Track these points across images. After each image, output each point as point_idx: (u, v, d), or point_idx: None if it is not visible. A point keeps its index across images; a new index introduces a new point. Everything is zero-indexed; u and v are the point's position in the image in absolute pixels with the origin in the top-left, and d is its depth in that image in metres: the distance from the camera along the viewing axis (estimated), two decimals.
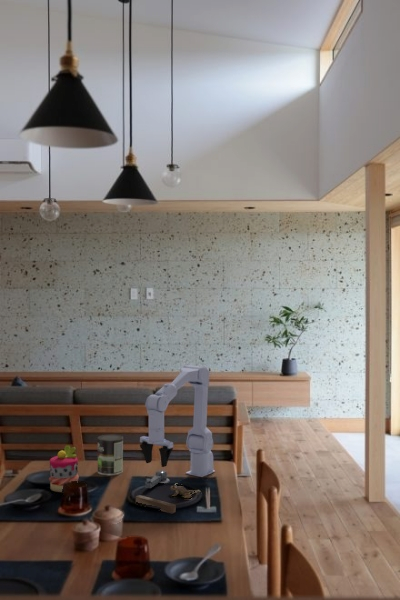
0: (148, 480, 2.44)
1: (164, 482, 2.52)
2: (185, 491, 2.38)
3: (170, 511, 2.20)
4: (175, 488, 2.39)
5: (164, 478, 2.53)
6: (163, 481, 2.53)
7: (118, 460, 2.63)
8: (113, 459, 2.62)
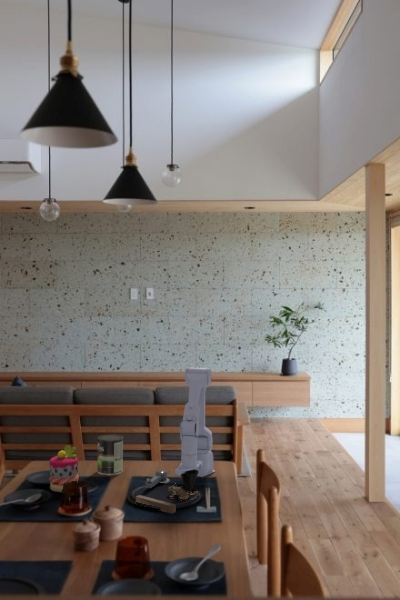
0: (148, 480, 2.44)
1: (164, 482, 2.52)
2: (183, 492, 2.37)
3: (170, 511, 2.20)
4: (173, 489, 2.37)
5: (164, 478, 2.53)
6: (163, 481, 2.53)
7: (118, 460, 2.63)
8: (113, 459, 2.62)
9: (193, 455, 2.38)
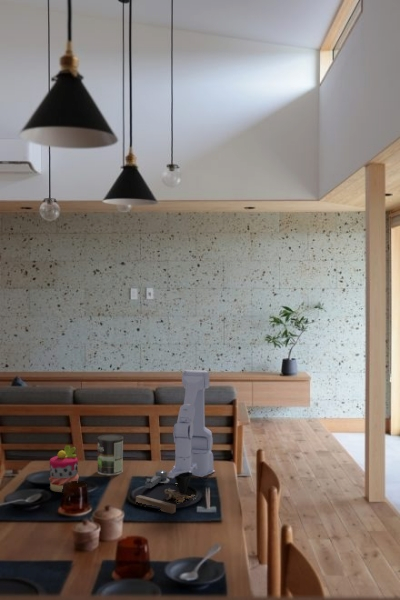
0: (148, 480, 2.44)
1: (164, 482, 2.52)
2: (178, 495, 2.33)
3: (170, 511, 2.20)
4: (169, 492, 2.34)
5: (164, 478, 2.53)
6: (163, 481, 2.53)
7: (118, 460, 2.63)
8: (113, 459, 2.62)
9: (187, 457, 2.35)
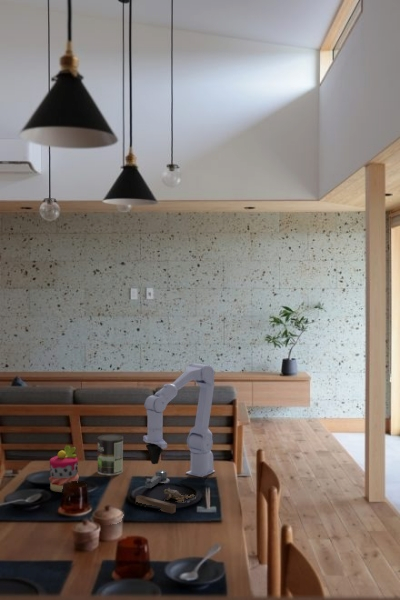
0: (148, 480, 2.44)
1: (164, 482, 2.52)
2: (178, 495, 2.33)
3: (170, 511, 2.20)
4: (168, 492, 2.34)
5: (164, 478, 2.53)
6: (163, 481, 2.53)
7: (118, 460, 2.63)
8: (113, 459, 2.62)
9: None
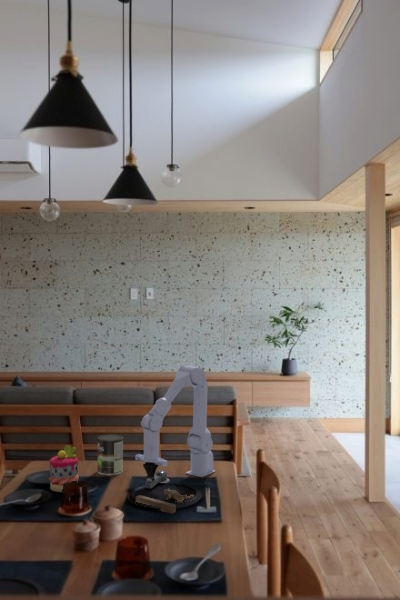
0: (148, 480, 2.44)
1: (164, 482, 2.52)
2: (178, 495, 2.33)
3: (170, 511, 2.20)
4: (168, 492, 2.34)
5: (164, 478, 2.53)
6: (163, 481, 2.53)
7: (118, 460, 2.63)
8: (113, 459, 2.62)
9: None
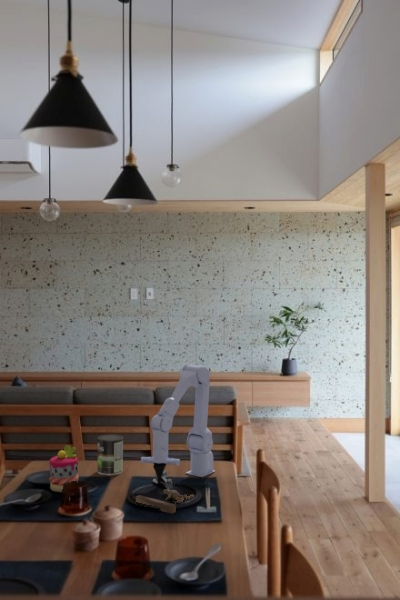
0: (170, 480, 2.44)
1: None
2: (177, 495, 2.33)
3: (170, 511, 2.20)
4: (168, 492, 2.34)
5: None
6: None
7: (118, 460, 2.63)
8: (113, 459, 2.62)
9: None
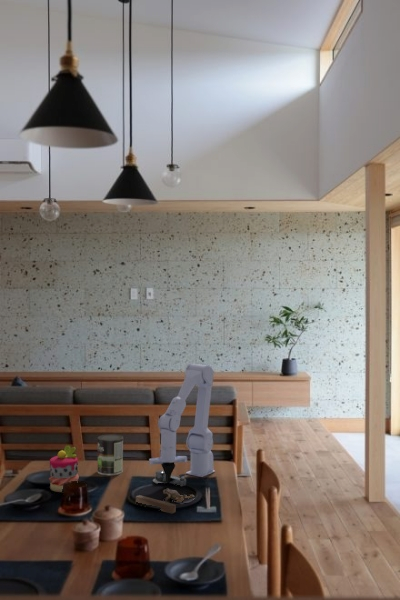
0: (184, 477, 2.47)
1: (164, 482, 2.52)
2: (177, 495, 2.33)
3: (170, 511, 2.20)
4: (167, 492, 2.34)
5: None
6: (163, 481, 2.53)
7: (118, 460, 2.63)
8: (113, 459, 2.62)
9: None
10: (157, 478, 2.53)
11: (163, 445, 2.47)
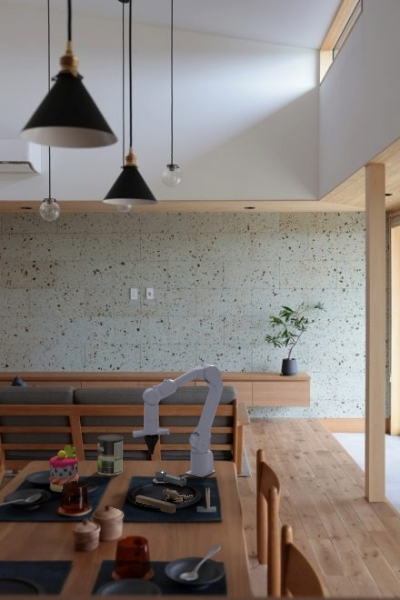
0: (184, 477, 2.47)
1: (164, 482, 2.52)
2: (177, 495, 2.33)
3: (170, 511, 2.20)
4: (167, 492, 2.34)
5: None
6: (163, 481, 2.53)
7: (118, 460, 2.63)
8: (113, 459, 2.62)
9: None
10: (157, 478, 2.53)
11: (144, 417, 2.58)
